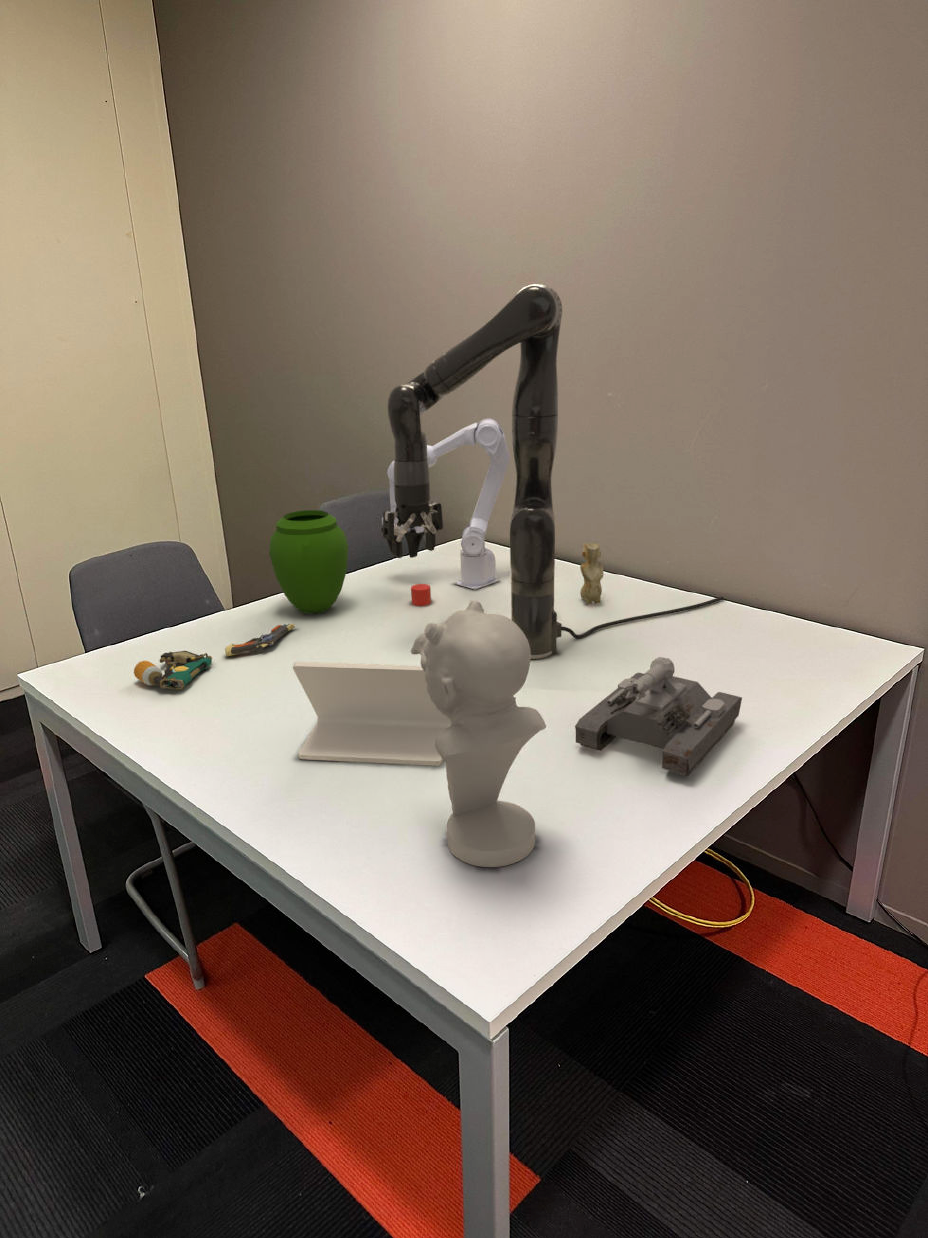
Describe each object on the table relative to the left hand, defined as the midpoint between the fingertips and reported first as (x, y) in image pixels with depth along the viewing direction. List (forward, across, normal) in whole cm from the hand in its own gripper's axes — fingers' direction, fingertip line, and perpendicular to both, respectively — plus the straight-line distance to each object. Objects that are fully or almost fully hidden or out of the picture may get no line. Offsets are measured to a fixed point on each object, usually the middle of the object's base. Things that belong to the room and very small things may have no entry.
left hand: (403, 554), depth 231 cm
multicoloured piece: (+9, +8, -73) cm, 74 cm away
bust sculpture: (+9, +93, -72) cm, 118 cm away
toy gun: (+9, +6, -50) cm, 51 cm away
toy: (+9, +98, -29) cm, 103 cm away
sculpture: (+9, +48, +20) cm, 52 cm away
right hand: (-12, +34, -27) cm, 45 cm away
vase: (+9, -3, -28) cm, 30 cm away
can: (+9, +14, -7) cm, 18 cm away
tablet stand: (+9, +61, -62) cm, 87 cm away
